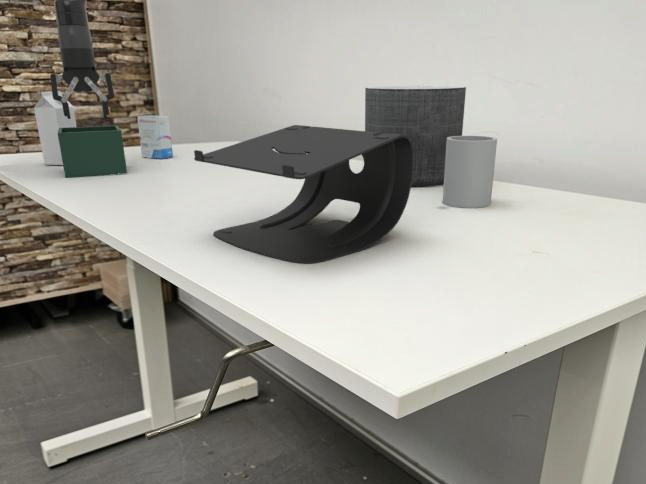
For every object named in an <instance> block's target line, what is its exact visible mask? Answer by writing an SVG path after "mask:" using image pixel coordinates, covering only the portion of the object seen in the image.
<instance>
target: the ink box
mask: <svg viewBox="0 0 646 484" xmlns="http://www.w3.org/2000/svg"><path fill="white" fill-rule="evenodd" d="M136 118H137V127H138V133H139V142H140V151H141V152H140V153H141V158H144V157H147V158H146V159H156V158H157V159H158V160H164V159H169V158H174V155H173V144H172V135H171V134H172V133H171V124H170V116H168V115H138V116H137V117H136ZM157 159H156V160H157Z"/></svg>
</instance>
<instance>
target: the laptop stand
mask: <svg viewBox="0 0 646 484" xmlns="http://www.w3.org/2000/svg"><path fill="white" fill-rule="evenodd" d="M193 153H194V158H193V159H194V161H195V162H201V163H206V164H212V165H218V166H224V167H229V168H234V169H239V170H244V171H249V172H255V173H260V174H267V175H271V176H276V177H281V178H287V179H292V180H304V181H303V183H302V184H303V185H302V186H301V189H300V190H299V192H298V194H297V196H296V197H295V199H294V200H292V202H290V203H289V204H288V205H287V206H286V207H284V208H283V209H281V210H280V211H278V212H276V213H274V214H273V215H270V216H268V217H266V218H263V219H260V220H255V221H253V222H247V223H242V224H239V225H234V226H229V227H224V228H220V229H217V230H214V231H213V233H212V234H213V236H214V237H215V238H217V239H219V240H220V241H222V242H225V243H227V244H229V245H232V246H235V247H237V248H240V249H243V250H246V251H249V252H251V253H255V254H258V255H262V256H266V257H270V258H274V259H278V260H282V261H285V262H291V263H297V264H317V263H322V262H326V261H330V260H333V259H336V258H340V257H344V256H348V255H351V254H355V253H359V252H361V251H363V250H365V249H368V248H369V247H372V246H374V245H375V244H376V243H378V242H380V241H381V240H382V239H384V238H385V237H386V236H387V235H388V234H389V233H390V232H391V231H392V230H394V228H395V227H396V225H397V224H398V223H399V222H400V220H401V217H402V215H403V214H404V212H405V209H406V206H407V204H408V201H409V198H410V193H411V188H412V186H411V184H412V176H413V146H412V142H411V140H410V139H409V138H408V137H407V136H406V135H399V134H388V133H384V134H382V133H378V132H367V131H365V130H354V129H344V128H332V127H322V126H311V125H299V124H294V125H290V126H287V127H284V128H280V129H278V130H274V131H272V132H268V133H265V134H262V135H259V136H255V137H253V138H250V139H246V140H243V141H240V142H238V143H235V144H231V145H228V146H225V147H222V148H219V149H215V150H212V151H210V152H206V153H203V151H202V150H198V149H197V150H196V149H195V150H193ZM359 156H362V158H363V166H362V168H361V171H360V172H357V173H356V172H354V171H353V170H352V168H351V165H350V160H352V159H355V158H357V157H359ZM334 200H335V201H336V200H339V201H340V200H341V201H345V202H350V203H351V202H352V203H356V204H359V210H358V212H357V214H356V215H354V218H352V219H351V220H350V221H346V220H341V219H331V220H327V221H326V220H325V221H322V222H318V223H314V224H309V225H305V224H307V223H309V222H310V221H311V220H313V219H315V218H316V217H317V216H318V215H319V214H321V213H322V212H323V211H324V210H325V209H326V208H327V207H328V205H330V203H331V202H333V201H334ZM303 225H305V226H303Z"/></svg>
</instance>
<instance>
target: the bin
mask: <svg viewBox="0 0 646 484" xmlns="http://www.w3.org/2000/svg"><path fill="white" fill-rule="evenodd" d="M58 139H59V145H60V150H61V156H62V162H63V165H62V166H63V171H64V172H63V173H64V178H65V179H66V178H67V179H69V178H83V177H97V176H99V175H100V176H111V175H110V174H115V175H119V174H118V173H127V174H128V169H127V162H126V154H125V147H124V140H123V139H124V138H123V133H122V129H121V128H120V127H119V126H118V125H98V126H77V127H69V128H59V130H58Z"/></svg>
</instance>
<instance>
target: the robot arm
mask: <svg viewBox="0 0 646 484" xmlns="http://www.w3.org/2000/svg"><path fill="white" fill-rule="evenodd" d="M87 2H88V1H87V0H54V2H53V9H54V16H55V20H56V21H55V22H56V28H57V40H58V46H59V52H60V59H61V65H62V74H58V73H57V74H56V73H50V75H49V76H50V85H51V91H52V95H53V99H54V100H57V101H60V102H61V103H62V106H63V112H64V115H65V117H66V116H67V118H68V119H71V117H70V111H69V105H68V103H67V101H68V99H69V98H70V96H71V95H72V93H73V92H75V93H82V92H83V93H84V92H85V93H90V92H92V91H94V93H95V94H96V95H97V96H98V97H99V98H100V99H101V108H102V114H103V118H108V116H109V115H110V110H109V101H110V100H112V99H114V98H115V91H114V87H113V81H112V76H111V73H109V72H104V73H99V72H98V71H97V67H96V59H95V51H94V43H93V38H92V33H91V31H90V26H89V19H88V12H87ZM100 79H101V80H102V83H104V84H106V88H107V93H108V94H104V93H103V92H102V91H101V89H100V88H99V87H98V86H97V85H98V82H99V80H100ZM61 80H63V81H64V82H65V83H66V85H68V87H67V88H66V90H65V91H64V93H63V95H62V96H63V97H62V96H59V95H58V91H59V90H58V84H60V83H61Z"/></svg>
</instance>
